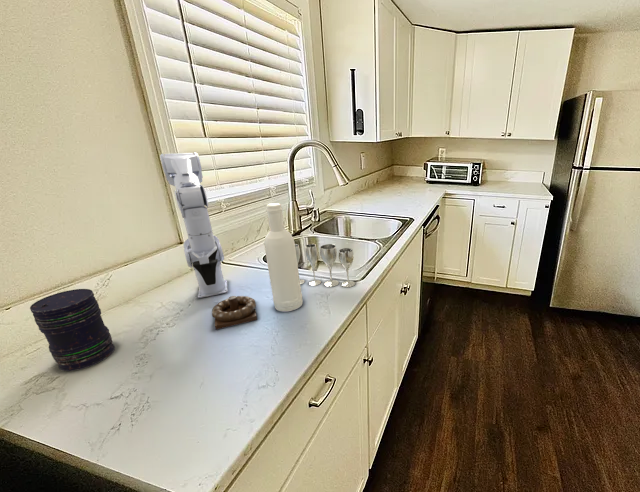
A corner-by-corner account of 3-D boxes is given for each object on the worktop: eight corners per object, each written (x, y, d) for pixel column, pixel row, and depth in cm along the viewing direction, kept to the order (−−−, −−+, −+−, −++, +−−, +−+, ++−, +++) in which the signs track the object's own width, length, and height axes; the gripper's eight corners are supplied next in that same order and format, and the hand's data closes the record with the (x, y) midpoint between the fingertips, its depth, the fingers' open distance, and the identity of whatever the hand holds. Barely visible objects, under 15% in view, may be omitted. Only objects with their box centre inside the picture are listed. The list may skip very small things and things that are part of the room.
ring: (213, 307, 92) (211, 300, 91) (254, 298, 96) (253, 291, 96) (212, 327, 83) (210, 319, 82) (258, 316, 87) (256, 308, 87)
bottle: (268, 309, 93) (249, 206, 82) (286, 296, 100) (270, 200, 89) (292, 314, 90) (276, 208, 80) (308, 300, 97) (295, 201, 87)
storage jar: (103, 338, 81) (81, 285, 75) (124, 350, 76) (102, 294, 71) (49, 363, 73) (20, 304, 67) (69, 377, 68) (39, 316, 63)
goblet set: (357, 280, 110) (354, 243, 105) (353, 288, 104) (350, 249, 100) (278, 277, 113) (272, 241, 108) (270, 285, 107) (263, 247, 102)
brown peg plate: (216, 311, 92) (211, 294, 90) (254, 303, 96) (250, 286, 94) (215, 329, 84) (210, 310, 82) (257, 319, 88) (253, 301, 86)
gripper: (184, 227, 90) (196, 272, 95) (179, 243, 78) (193, 293, 83) (213, 224, 93) (223, 267, 98) (212, 238, 81) (224, 286, 86)
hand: (211, 278), depth 91 cm, fingers open, 7 cm apart
